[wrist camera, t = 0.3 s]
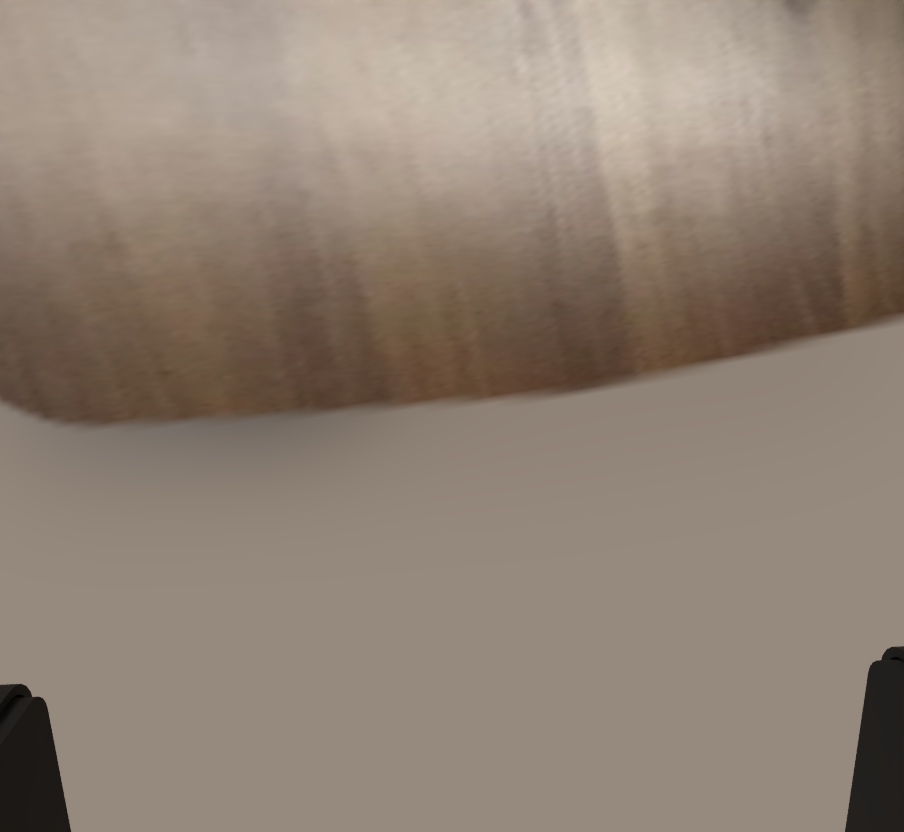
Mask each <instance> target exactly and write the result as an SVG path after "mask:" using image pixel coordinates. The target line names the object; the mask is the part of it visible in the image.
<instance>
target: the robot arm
mask: <svg viewBox="0 0 904 832" xmlns="http://www.w3.org/2000/svg"><path fill="white" fill-rule="evenodd" d="M0 832H71V829H70V824H69V819H68V814H67V808H66V803H65V798H64V792H63V787H62V782H61V777H60V771H59V766H58V761H57V755H56V750H55V745H54V740H53V734H52V729H51V724H50V719H49V713H48V708H47V705H46V703H45V701H44V699H43V698H41V697H32V695H31V692H30V690H29V689H28V688H27V686H25V685H23V684H10V685H0ZM845 832H904V646H903V647H891V648H889V649H887V650H886V651H885V653H884V654H883V656H882V660H880V661H875V662H873V663H872V665H871V666H870V669H869V672H868V678H867V686H866V692H865V699H864V706H863V712H862V719H861V727H860V734H859V740H858V747H857V754H856V761H855V768H854V775H853V781H852V788H851V795H850V803H849V809H848V815H847V822H846V829H845Z"/></svg>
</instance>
